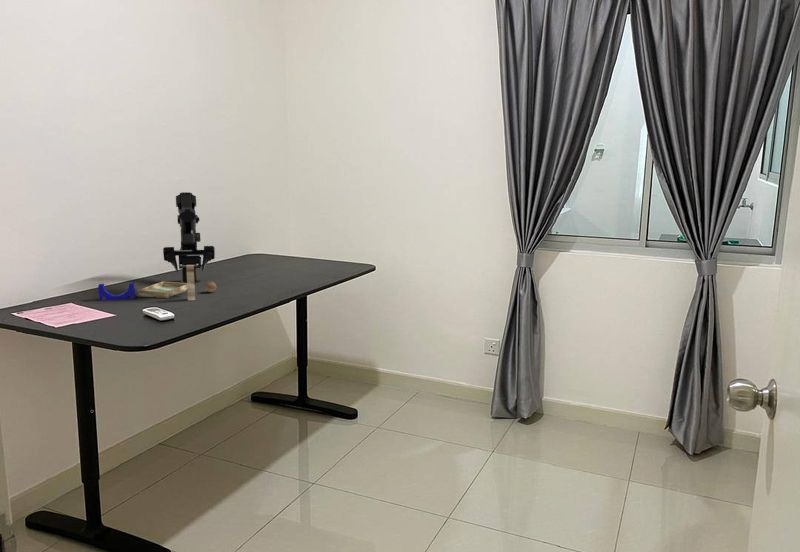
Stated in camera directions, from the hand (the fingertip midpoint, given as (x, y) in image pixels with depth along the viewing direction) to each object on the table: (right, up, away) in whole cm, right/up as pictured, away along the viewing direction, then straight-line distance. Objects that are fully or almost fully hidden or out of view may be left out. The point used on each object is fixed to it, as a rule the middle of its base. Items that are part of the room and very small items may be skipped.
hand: (190, 271), depth 243 cm
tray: (-13, -8, +10) cm, 18 cm away
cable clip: (-27, -11, -2) cm, 29 cm away
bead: (+4, -8, +11) cm, 15 cm away
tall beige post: (+1, -11, -1) cm, 11 cm away
